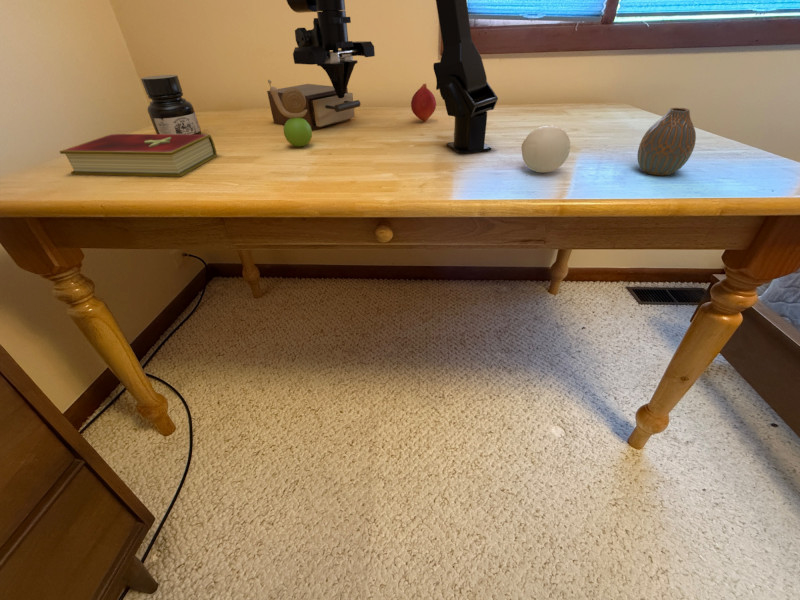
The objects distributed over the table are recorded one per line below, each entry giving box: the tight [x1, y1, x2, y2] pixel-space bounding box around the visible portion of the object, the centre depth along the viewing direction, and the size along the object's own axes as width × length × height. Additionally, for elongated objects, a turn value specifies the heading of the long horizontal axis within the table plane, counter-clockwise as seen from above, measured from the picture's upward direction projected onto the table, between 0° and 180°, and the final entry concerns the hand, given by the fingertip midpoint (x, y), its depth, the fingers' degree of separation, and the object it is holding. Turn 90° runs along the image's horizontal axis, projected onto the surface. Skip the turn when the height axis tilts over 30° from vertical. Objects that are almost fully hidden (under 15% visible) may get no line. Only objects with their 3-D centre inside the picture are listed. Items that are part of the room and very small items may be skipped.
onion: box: [410, 83, 437, 122], centre depth 89 cm, size 6×6×8 cm
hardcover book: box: [59, 133, 218, 178], centre depth 69 cm, size 12×21×4 cm, turn 82°
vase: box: [637, 107, 697, 176], centre depth 56 cm, size 7×7×9 cm
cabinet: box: [266, 83, 351, 131], centre depth 93 cm, size 15×13×7 cm
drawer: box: [310, 92, 361, 127], centre depth 91 cm, size 18×11×5 cm, turn 51°
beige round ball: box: [521, 125, 571, 174], centre depth 59 cm, size 7×7×7 cm
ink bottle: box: [140, 74, 202, 135], centre depth 82 cm, size 10×9×12 cm
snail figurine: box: [267, 79, 313, 148], centre depth 73 cm, size 5×6×12 cm
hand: (340, 97), depth 86 cm, fingers closed
